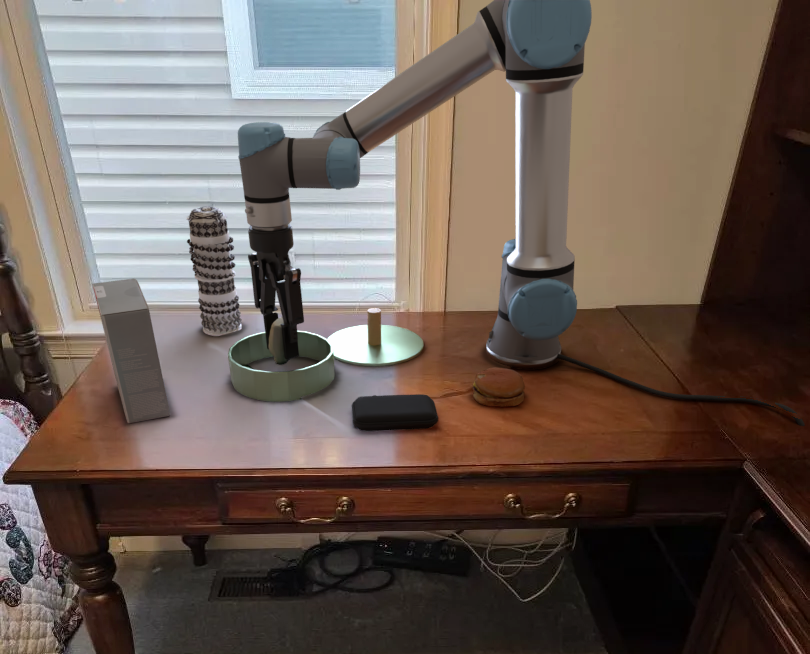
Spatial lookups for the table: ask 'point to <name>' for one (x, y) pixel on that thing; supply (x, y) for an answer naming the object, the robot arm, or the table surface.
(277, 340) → the beige rounded block
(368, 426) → the carrying case
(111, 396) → the table surface
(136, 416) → the hard drive box
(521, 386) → the burger
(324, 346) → the pot
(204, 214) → the white patterned cylinder
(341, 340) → the pot lid
